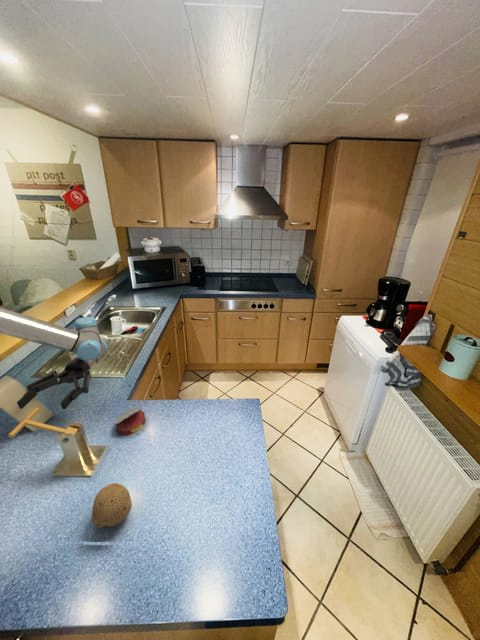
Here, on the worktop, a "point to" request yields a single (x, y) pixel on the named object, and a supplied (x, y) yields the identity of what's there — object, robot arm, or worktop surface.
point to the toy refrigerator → (10, 392)
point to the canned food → (130, 421)
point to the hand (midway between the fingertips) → (40, 405)
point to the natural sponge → (111, 505)
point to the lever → (40, 425)
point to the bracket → (77, 454)
